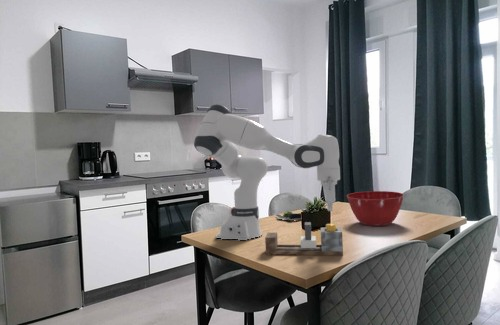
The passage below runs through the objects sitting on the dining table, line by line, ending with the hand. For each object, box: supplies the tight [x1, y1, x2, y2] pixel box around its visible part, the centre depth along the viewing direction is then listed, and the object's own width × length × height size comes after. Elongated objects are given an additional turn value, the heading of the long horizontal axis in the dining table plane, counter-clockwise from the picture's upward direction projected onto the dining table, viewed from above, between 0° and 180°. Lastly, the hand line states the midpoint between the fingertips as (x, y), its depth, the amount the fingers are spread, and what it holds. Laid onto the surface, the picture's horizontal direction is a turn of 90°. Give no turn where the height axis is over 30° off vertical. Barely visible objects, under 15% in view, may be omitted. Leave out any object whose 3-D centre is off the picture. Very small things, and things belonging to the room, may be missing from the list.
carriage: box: [300, 221, 317, 248], centre depth 144 cm, size 6×7×9 cm
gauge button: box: [325, 223, 337, 231], centre depth 142 cm, size 4×4×4 cm
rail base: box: [264, 226, 344, 256], centre depth 144 cm, size 30×8×9 cm, turn 80°
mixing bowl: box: [346, 190, 405, 227], centre depth 188 cm, size 28×28×16 cm
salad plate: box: [275, 211, 302, 222], centre depth 212 cm, size 19×18×5 cm
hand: (330, 210), depth 142 cm, fingers closed
